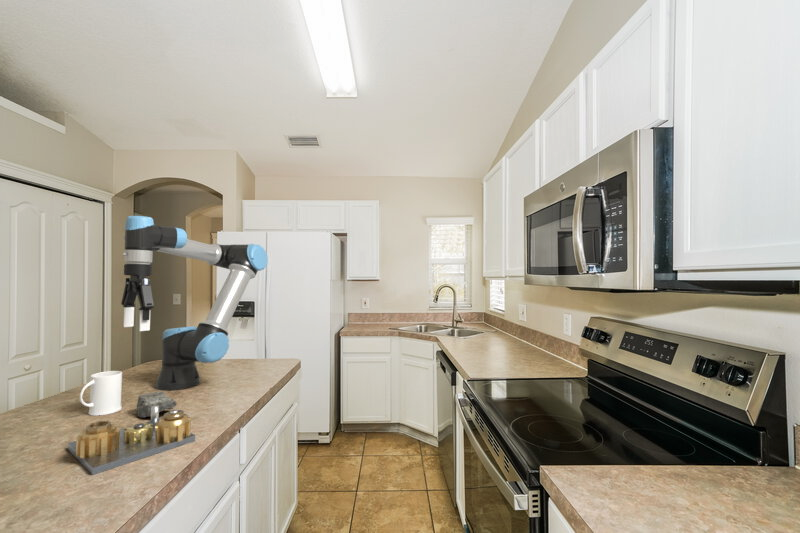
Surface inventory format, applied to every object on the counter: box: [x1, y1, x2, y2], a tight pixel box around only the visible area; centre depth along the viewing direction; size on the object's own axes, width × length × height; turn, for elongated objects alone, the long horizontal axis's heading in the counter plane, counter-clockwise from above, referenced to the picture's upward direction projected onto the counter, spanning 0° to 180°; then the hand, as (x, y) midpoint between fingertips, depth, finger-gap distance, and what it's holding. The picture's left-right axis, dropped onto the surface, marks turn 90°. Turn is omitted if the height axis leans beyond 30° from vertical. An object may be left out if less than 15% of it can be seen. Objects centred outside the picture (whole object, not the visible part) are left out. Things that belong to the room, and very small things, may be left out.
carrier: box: [67, 405, 196, 476], centre depth 98 cm, size 22×21×8 cm
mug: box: [79, 370, 123, 417], centre depth 121 cm, size 12×8×12 cm
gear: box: [75, 420, 120, 458], centre depth 92 cm, size 8×8×6 cm
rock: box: [135, 390, 178, 419], centre depth 119 cm, size 13×9×6 cm, turn 72°
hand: (136, 328), depth 122 cm, fingers open, 13 cm apart
